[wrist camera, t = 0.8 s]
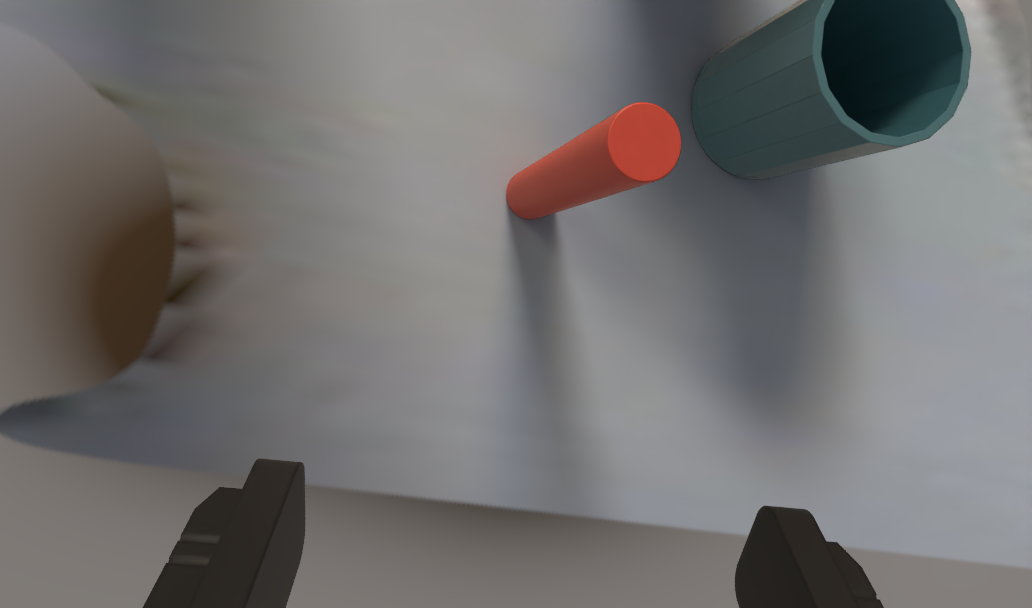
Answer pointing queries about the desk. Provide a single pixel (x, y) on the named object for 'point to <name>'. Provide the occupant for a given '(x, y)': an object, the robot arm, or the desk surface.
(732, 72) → the cup
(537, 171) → the red cylindrical rod
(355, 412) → the desk surface
